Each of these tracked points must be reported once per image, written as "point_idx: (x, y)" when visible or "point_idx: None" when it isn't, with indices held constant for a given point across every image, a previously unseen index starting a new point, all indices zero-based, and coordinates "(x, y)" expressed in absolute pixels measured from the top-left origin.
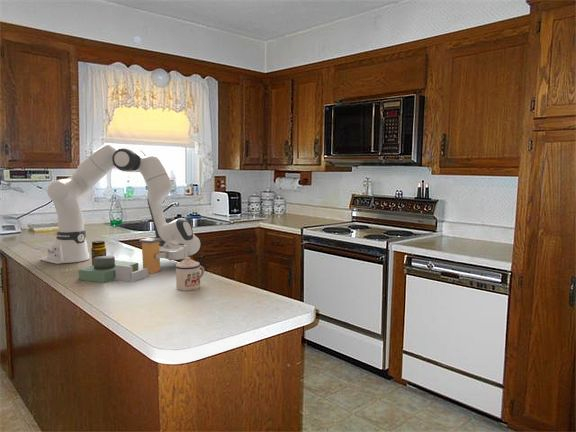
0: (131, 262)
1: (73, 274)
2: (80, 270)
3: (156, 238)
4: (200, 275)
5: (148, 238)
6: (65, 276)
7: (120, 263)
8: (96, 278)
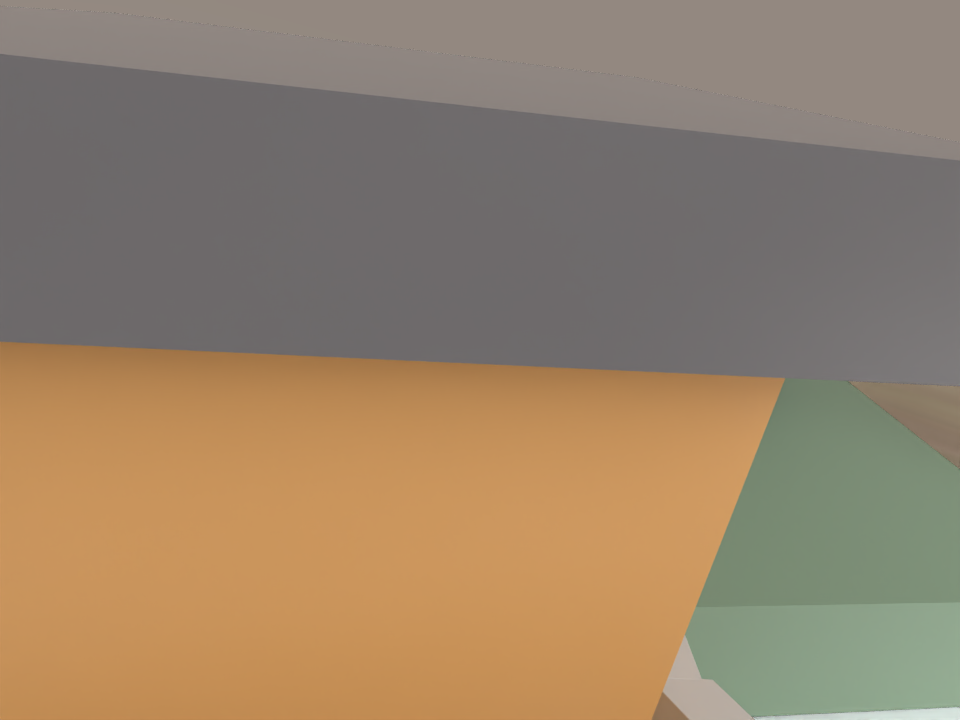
0: (712, 582)
1: (928, 423)
2: None
3: (123, 55)
4: None
5: (711, 102)
6: (882, 385)
7: (755, 486)
8: None
